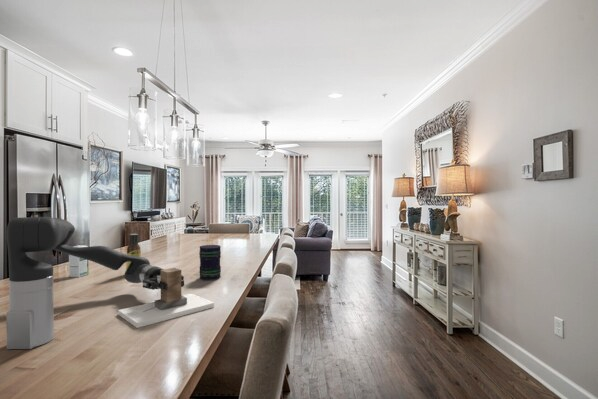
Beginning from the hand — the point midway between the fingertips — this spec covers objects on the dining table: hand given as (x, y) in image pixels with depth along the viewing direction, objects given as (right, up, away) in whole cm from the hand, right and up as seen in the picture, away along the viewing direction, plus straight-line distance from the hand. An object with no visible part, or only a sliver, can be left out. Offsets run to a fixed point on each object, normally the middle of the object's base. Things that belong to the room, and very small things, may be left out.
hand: (174, 285), depth 113 cm
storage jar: (-1, -9, +47) cm, 48 cm away
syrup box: (-66, -9, +51) cm, 84 cm away
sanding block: (-2, -7, +2) cm, 8 cm away
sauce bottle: (-41, -8, +55) cm, 69 cm away
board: (-3, -9, +1) cm, 9 cm away
